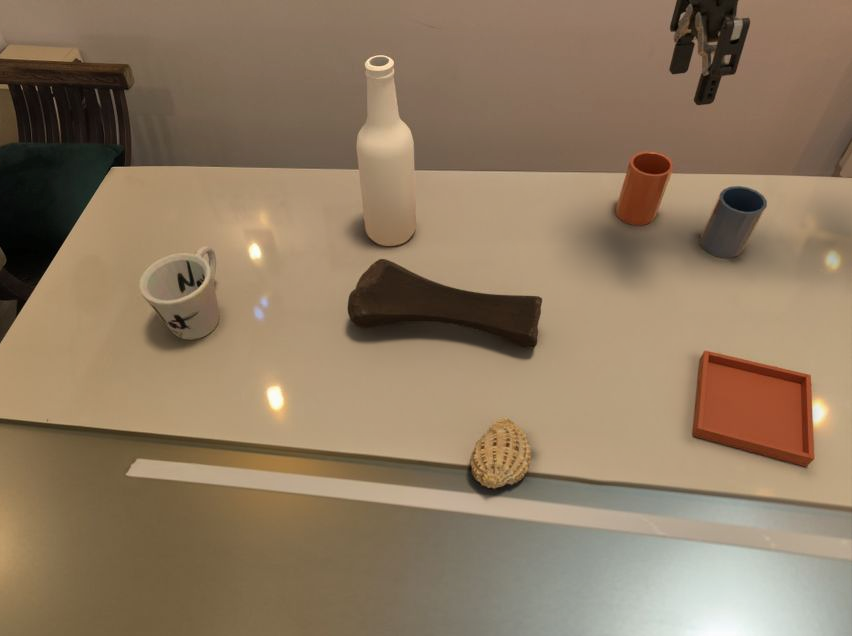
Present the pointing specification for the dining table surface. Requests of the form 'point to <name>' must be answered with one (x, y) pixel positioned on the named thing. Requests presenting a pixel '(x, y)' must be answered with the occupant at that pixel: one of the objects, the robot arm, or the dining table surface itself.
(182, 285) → the mug
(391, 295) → the dark brown bone
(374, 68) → the alcohol
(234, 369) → the dining table surface
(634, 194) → the terracotta cup
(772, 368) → the terracotta tray
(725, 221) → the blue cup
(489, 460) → the seashell
